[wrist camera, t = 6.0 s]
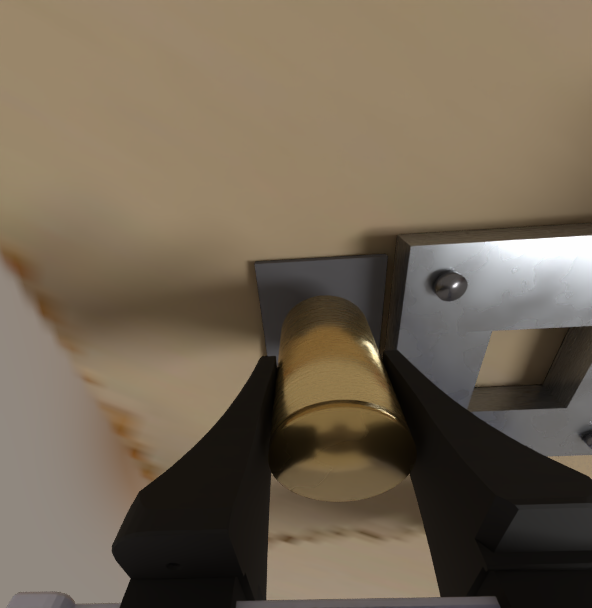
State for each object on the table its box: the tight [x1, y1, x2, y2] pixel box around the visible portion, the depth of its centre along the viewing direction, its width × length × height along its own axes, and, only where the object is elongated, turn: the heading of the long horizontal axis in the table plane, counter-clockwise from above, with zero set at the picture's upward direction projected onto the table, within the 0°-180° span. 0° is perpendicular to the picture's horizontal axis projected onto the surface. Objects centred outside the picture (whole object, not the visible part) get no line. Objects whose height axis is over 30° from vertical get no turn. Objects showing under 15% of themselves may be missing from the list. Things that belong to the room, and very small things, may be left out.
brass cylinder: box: [268, 295, 417, 502], centre depth 12 cm, size 5×5×7 cm
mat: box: [255, 254, 388, 366], centre depth 17 cm, size 7×7×1 cm
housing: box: [385, 223, 592, 456], centre depth 17 cm, size 16×16×2 cm
